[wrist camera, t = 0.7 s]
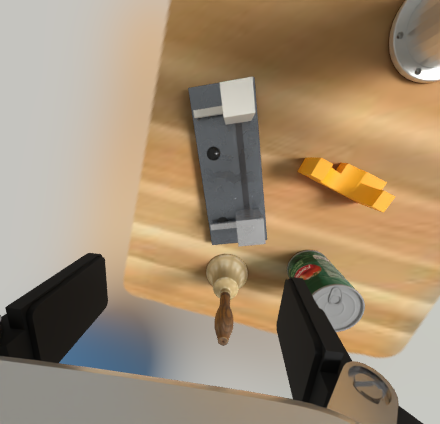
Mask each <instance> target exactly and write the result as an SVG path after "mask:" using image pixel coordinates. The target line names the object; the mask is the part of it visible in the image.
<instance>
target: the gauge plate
mask: <svg viewBox="0 0 440 424" xmlns="http://www.w3.org/2000/svg"><path fill="white" fill-rule="evenodd" d="M188 89H189V96H190V102H191V109H192V116H193V122H194V129H195V135H196V142H197V149H198V155H199V162H200V168H201V175H202V181H203V188H204V195H205V201H206V208H207V214H208V221H209V228H210V234H211V241H212V245H218V244H228V243H238V244H239V246H248V245H259V244H266V243H265V240H267V232H266V219H265V207H264V194H263V181H262V168H261V155H260V142H259V130H258V117H257V104H256V91H255V78H254V77H253V89H254V101H255V115H254V117H253V119H252V121H247V122H241V123H234V124H227V125H226V124H225V121H224V116H223V114H221V115H215V116H208V117H202V118H194V111H193V110H198V109H205V108H211V107H217V106H222V99H221V90H220V83H215V84H209V85H203V86H198V87H192V88H188Z"/></svg>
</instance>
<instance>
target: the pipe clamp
mask: <svg viewBox="0 0 440 424" xmlns="http://www.w3.org/2000/svg"><path fill="white" fill-rule="evenodd" d="M332 166H333V164H332V163H330V162H328V161H326V160H325V159H323V158H305V159H304V161H303V163H302V164H301V166H300V168H299V170H298V171H297V172H299V173H301V174H303V175H305V176H307V177H308V178H310V179H312V180H314V181H316V182H318V183H320V184H322V185H324V186H326V187H328V188H330V189H332V190H334V191H336V192H338V193H339V194H341V195H343V196H345V197H347V198H349V199H351V200H353V201H355V202H357V203H359V204H362V205H365V206H367V207H370V208H373V209H375V210H378V211H381V212H383V213H384V211H385V210H386V209H387V207H388V206H389V205H390V203H391V202H392V201H393V199H394V198H395V196H393V195H391V194H389V193H388V192H386V191H384V190H382V189H383V188H384V186H385V185H386V183H387V182H385V181H383V180H381V179H379V178H377V177H375V176H374V175H372V174H370V173H368V172H365V171H363V170H361V169H358V168H356V167H354V166H352V165H350V164H348V163H340V165H339V166H338V168H337V169H336V170H334V169H333V168H332Z"/></svg>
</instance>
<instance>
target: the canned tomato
mask: <svg viewBox="0 0 440 424" xmlns="http://www.w3.org/2000/svg"><path fill="white" fill-rule="evenodd" d="M287 273H288V276H289V278H290V277H296V278H303V280H304V281H305V283H306V285H307V287H308V289H309V290H310V292H311V294H312V296H313V298H314V300H315V301H316V303H317V305H318V307H319V308H321V309H322V310H323V311H324V312H325V314H326V316H327V318H328V319H329V321H330V323H331V325H332V327H333V328H334V330H335V332H340V331H343V330H346V329H349V328H351V327H352V326H354V325H355V324H356V323H357V322H358V321H359V320H360V319H361V317H362V315H363V313H364V309H365V304H364V300H363V298H362V296H361V295H360V294H359V292H358V291H357V290H355V289H354V287H353V286H352V285H351V284H350V283H349V282H348V281H347V280H346V279H345V278H344V276H343V275H342V274H341V273H340V272H339V271H338V270H337V269H336V268H335V267H334V266H333V265H332V263H331V262H330V261H329V260H328V259H327V258H326V257H325V256H324V255H323V254H322V253H320V252H318V251H314V250H306V251H302V252H299V253H297V254H296V255H294V256H293V257H292V258H291V259H290V261H289V263H288V266H287Z"/></svg>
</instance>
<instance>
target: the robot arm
mask: <svg viewBox="0 0 440 424" xmlns="http://www.w3.org/2000/svg"><path fill="white" fill-rule="evenodd" d="M389 51H390V56H391V59H392V62H393V64H394V66H395V68H396V69H397V70H398V71H399V73H400V74H401V75H403V76H404V77H405V78H407V79H409V80H411V81H414V82H419V83H432V82H436V81H440V0H405V1H404V3H403V4H402V6H401V7H400V9H399V11H398V12H397V14H396V17H395V19H394V21H393V24H392V27H391V31H390V38H389ZM107 303H108V296H107V282H106V268H105V259H104V258H103V257H102V255H101V254H94V253H88V254H86V255H84V256H83V257H81V258H80V259H78V260H77V261H75V262H74V263H72V264H71V265H69V266H67V267H66V268H65V269H63V270H61V271H60V272H59V273H57V274H55V275H54V276H52V277H51V278H49V279H48V280H46V281H45V282H43V283H42V284H40V285H39V286H37V287H36V288H34V289H33V290H31V291H29V292H28V293H26V294H25V295H23V296H22V297H20V298H19V299H17V300H16V301H14V302H13V303H11V304H10V305H8V306H7V307H6V312H7V314H5V315H4V316H2V317H1V315H0V424H423V423H421V422H420V421H418V420H417V419H416V418H415V417H413V416H412V415H411V414H409V413H408V412H407V411H405V410H404V409H402V408H401V407H400V406H398V397H397V395H396V392H395V390H394V389H393V388H392V386H391V385H390V383H389V382H388V381H387V380H386V379H385V378H384V377H383V376H382V375H381V374H380V373H378V372H377V371H376V370H374V369H373V368H371V367H369V366H367V365H365V364H363V363H360V362H352V360H351V358H350V356H349V355H348V353H347V351H346V349H345V348H344V346H343V344H342V342H341V341H340V339H339V337H338V335H337V334H336V332H335V330H334V328H333V327H332V325H331V323H330V321H329V319H328V318H327V316H326V314H325V312H324V311H323V310H322V309H321V308H319V307H318V305H317V303H316V301H315V300H314V298H313V296H312V294H311V292H310V290H309V289H308V287H307V285H306V283H305V281H304V280H303V278H296V277H290V278H289V280H288V279H286V281H285V285H284V290H283V295H282V300H281V305H280V310H279V315H278V320H277V333H278V337H279V342H280V346H281V350H282V354H283V358H284V363H285V367H286V371H287V375H288V380H289V384H290V388H291V392H292V397H293V399H289V398H283V397H277V396H271V395H266V394H260V393H255V392H249V391H243V390H236V389H230V388H223V387H217V386H210V385H204V384H197V383H190V382H184V381H178V380H170V379H164V378H157V377H150V376H144V375H137V374H130V373H123V372H116V371H109V370H102V369H96V368H88V367H81V366H74V365H66V364H60V363H59V362H60V361H61V359H62V358H63V357H64V356H65V355H66V354H67V353H68V351H69V350H70V349H71V348H72V347H73V346H74V344H75V343H76V342H77V341H78V339H79V338H80V337H81V336H82V335H83V334H84V333H85V331H86V330H87V329H88V328H89V327H90V326H91V325H92V323H93V322H94V321H95V320H96V319H97V318H98V316H99V315H100V314H101V313H102V312H103V310H104V309H105V308H106V306H107Z"/></svg>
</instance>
